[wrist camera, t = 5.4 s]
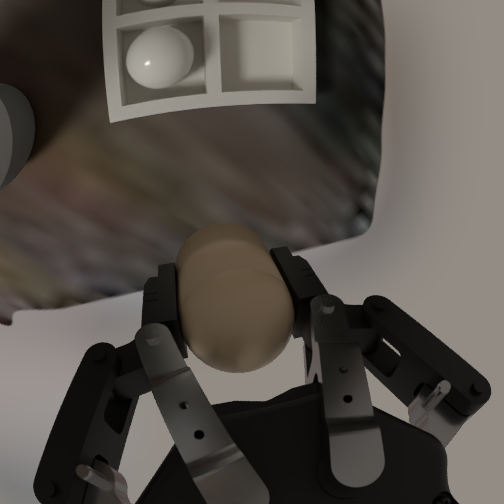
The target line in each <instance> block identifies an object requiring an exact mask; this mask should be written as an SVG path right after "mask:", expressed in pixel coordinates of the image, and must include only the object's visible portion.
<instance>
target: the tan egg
mask: <svg viewBox="0 0 504 504" xmlns="http://www.w3.org/2000/svg"><path fill="white" fill-rule="evenodd" d="M176 276H177V295H178V311H179V321H180V327H181V332H182V335H183V338H184V341H185V342H186V344H187V345H188V347H189V349H190V350H191V351H192V352H193V354H194V355H195V356H196V357H197V358H198V359H200V360H201V361H203V362H204V363H205V364H207V365H208V366H210V367H212V368H214V369H217V370H220V371H224V372H229V373H245V372H250V371H254V370H257V369H260V368H262V367H264V366H266V365H267V364H269V363H270V362H272V361H273V360H274V359H276V358H277V356H279V355H280V354H281V352H282V351H283V350H284V349H285V347H286V345H287V344H288V342H289V340H290V337H291V335H292V332H293V328H294V322H295V310H294V304H293V300H292V297H291V295H290V292H289V290H288V288H287V286H286V284H285V282H284V280H283V278H282V276H281V274H280V272H279V270H278V268H277V266H276V265H275V263H274V261H273V259H272V257H271V255H270V253H269V251H268V249H267V247H266V245H265V243H264V242H263V240H262V239H261V238H260V236H259V235H258V234H256V233H255V232H254V231H253V230H251V229H249V228H247V227H245V226H242V225H239V224H233V223H220V224H214V225H210V226H207V227H205V228H203V229H200V230H199V231H197V232H195V233H194V234H193V235H191V236H190V237H189V238H188V239H187V240H186V241H185V242H184V244H183V245H182V247H181V248H180V250H179V252H178V255H177V259H176Z"/></svg>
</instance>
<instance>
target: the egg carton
mask: <svg viewBox="0 0 504 504" xmlns="http://www.w3.org/2000/svg"><path fill="white" fill-rule="evenodd" d="M156 27H172V28H175V29H178V30H180V31H181V32H183V33H184V34H185V35H186V36H187V37H188V38H189V39H190V41H191V43H192V45H193V49H194V60H193V64H192V66H191V68H190V70H189V72H188V74H187V75H186V76H185V77H184V78H183V79H182V80H181V81H180V82H178V83H177V84H175V85H173V86H170V87H166V88H160V89H153V88H147V87H144V86H142V85H140V84H138V83H137V82H136V81H134V79H133V78H132V77H131V76H130V74H129V72H128V69H127V65H126V57H127V52H128V50H129V47H130V45H131V44H132V42H133V41H134V40H135V39H136V38H137V37H138V36H139V35H140V34H142V33H143V32H145V31H147V30H149V29H152V28H156ZM102 34H103V56H104V71H105V83H106V93H107V102H108V110H109V118H110V123H112V122H117V121H121V120H126V119H131V118H136V117H142V116H147V115H153V114H159V113H165V112H172V111H180V110H187V109H196V108H205V107H216V106H228V105H244V104H270V103H307V104H316V32H315V4H314V0H177V1H176V2H174V3H172V4H169V5H166V6H162V7H150V6H146V5H143V4H141V3H140V2H138V1H137V0H102Z"/></svg>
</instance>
